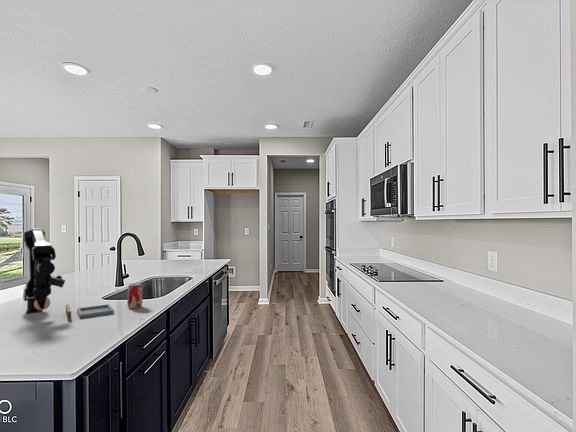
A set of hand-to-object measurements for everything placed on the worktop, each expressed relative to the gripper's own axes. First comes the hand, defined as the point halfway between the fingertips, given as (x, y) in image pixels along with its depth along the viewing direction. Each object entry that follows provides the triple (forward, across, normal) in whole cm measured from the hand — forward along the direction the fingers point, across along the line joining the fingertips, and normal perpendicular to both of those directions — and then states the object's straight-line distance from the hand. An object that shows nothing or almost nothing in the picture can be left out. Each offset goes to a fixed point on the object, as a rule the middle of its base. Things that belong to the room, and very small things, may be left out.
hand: (42, 307), depth 152 cm
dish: (+6, 0, -21) cm, 22 cm away
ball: (-2, 0, 0) cm, 2 cm away
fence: (+6, 0, -10) cm, 12 cm away
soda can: (+6, 0, -39) cm, 39 cm away
